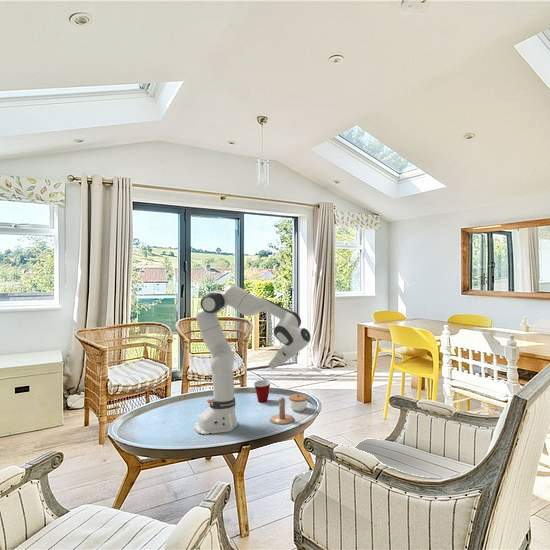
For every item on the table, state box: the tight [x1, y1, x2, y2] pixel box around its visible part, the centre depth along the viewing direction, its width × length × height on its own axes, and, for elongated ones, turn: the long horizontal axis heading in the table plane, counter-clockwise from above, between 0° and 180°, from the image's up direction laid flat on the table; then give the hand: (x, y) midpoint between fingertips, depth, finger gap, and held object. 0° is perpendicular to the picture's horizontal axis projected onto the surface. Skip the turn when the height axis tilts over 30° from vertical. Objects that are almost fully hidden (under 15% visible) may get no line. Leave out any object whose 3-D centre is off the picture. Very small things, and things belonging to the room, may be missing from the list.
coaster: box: [269, 416, 296, 426], centre depth 202 cm, size 14×14×1 cm
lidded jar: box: [288, 393, 308, 413], centre depth 216 cm, size 11×11×9 cm
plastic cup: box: [253, 379, 271, 404], centre depth 231 cm, size 11×11×12 cm
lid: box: [270, 396, 294, 425], centre depth 202 cm, size 12×12×12 cm
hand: (274, 361), depth 202 cm, fingers open, 8 cm apart
